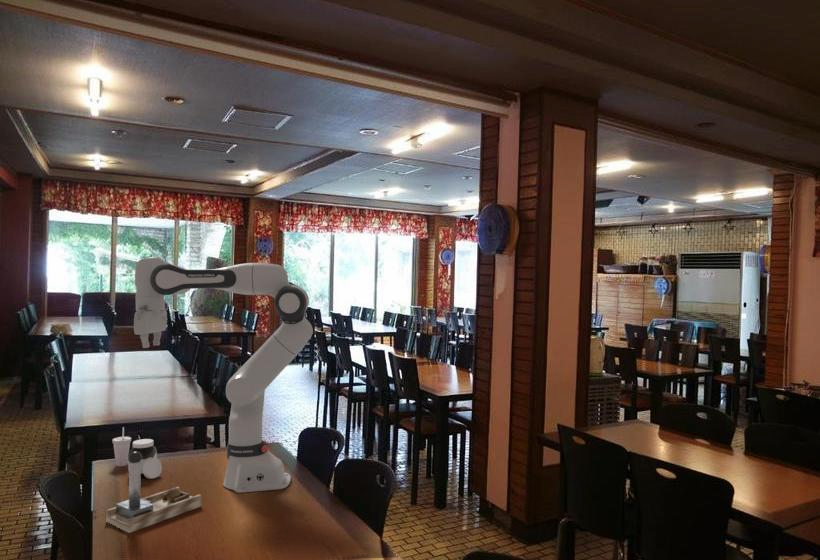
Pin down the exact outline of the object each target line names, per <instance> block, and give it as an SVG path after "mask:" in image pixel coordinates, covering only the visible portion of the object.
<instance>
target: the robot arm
mask: <svg viewBox="0 0 820 560" xmlns="http://www.w3.org/2000/svg"><path fill="white" fill-rule="evenodd" d="M134 271H135V273H134V285H135V288H136V292H135V311H136V312H134V317H133V332H134V335H138V336H139V338H140V340H141V344H142V346H141V347H142V348H143V349H148V348H150V342H149V334H153V335H152V336H153V340H152V346H160V345H161V342H160V340H161V336H162V332H165V331H167V325H168V312H167V311H168V310H169V304H168V302H166V300H165V296H170V295H183V294H185V293H188V291H190V290H192V289H193V290H194V289H195V290H196V289H199V290H200V289H201V290H202V289H213V290H214V289H215V290H219V291H220V290H221V291H225V292H228V293H233V294H238V295H244V296H245V295H247V296H258V295H259V296H260V295H263V296H264V295H265V296H270V297H272V298H273V299H274V308H275V311H276V312H277V314H278V315H279V317H280V319H281V321H282V323H281V325H280V326H279V327H278V328H277V329H276V330H275V331H274V332H273V333H272V334H271V335H270V337H268V338H267V340H266V341H265V342H264V343H263V344H262V345H261V346H260V347H259V348H258V349H257V350H256V351H255V352H254V354H252V356H250V357H249V359H247V360H246V362H245V363H244V364H242V365H241V366H240V368H239V369H237V371H236V372H235V373H234V374H233V375H232V376H231V377H230V378H229V380H228V381H227V383H226V387H225V396H226V399H227V401H228V402H229V403H230V404H231V407H230V412H229V413H230V414H229V417H228V442H227V445H226V457H227V458H226V459H227V465H226V471H225V476H224V479H223V480H224V481H223V484H222V486H223V487H225V488H226V489H229V490H232V491H234V492H235V493H239V494H241V493H249V492H250V493H253V492H262V491H273V490H282V489H285V488H287V487H288V486H289V485H290V484H291V478H292V477H291V474H290V473H288V472H285V467H284V464H283V461H282V460H281V459H280V458H278V457H276V456H275V455H274V454H273V453H271V452H270V451H269V442H268V440H267V441H264V439H263V415H264V406H265V405H264V404H265V395H266V394H265V392H266V389H267V388H268V387H269V386H270V384H272V383H273V382H274V380H276V378H277V377H278V376H279V375H280V374H281V373H282V372H283V370H285V369H286V368H287V366H288V365H289V364H290V363H291V362H292V361H293V360H294V359H295V358H296V357H297V356H298V355H299V353H300V352H301V351H302V350H303V348H305V346H306V344H307V343H308V342H309V341H310V339H311V337H312V336H313V333H314V329H313V326H312V324H311V322H310V321H309V320H308V319H307V318H306V316H305V314H306V311H307V309H308V308H309V304H310V297H309V294H308V293H307V291H305V290H304V289H303V288H302V287H301V286H298V285H296V284H295V283H292V282H291V281H289V275H288V272H287V270H286V269H285V267H283V266H282V265H279V264H276V263H270V262H269V263H267V262H266V263H265V262H264V263H263V262H247V263H246V262H245V263H239V264H234V265H229V266H226V267H225V266H224V267H220V268H211V269H207V268H206V269H203V268H202V269H197V268H195V269H191V268H190V269H187V268H185V267H183V266H180V265H176V264H172V263H170V262H168V261H165V260H164V259H163V258H161V257H159V256H150V257H149V256H147V257H144V258H141V259H140V260H138V261H137V262H136V264H135V270H134Z"/></svg>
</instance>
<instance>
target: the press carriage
mask: <svg viewBox="0 0 820 560" xmlns="http://www.w3.org/2000/svg"><path fill="white" fill-rule="evenodd" d="M129 454H130V453H129ZM141 460H142V455H141V453H140V452H137V451H135V452H132V453H131V454H130V455H128V461H129V470H128V476H129V477H128V499H127V500H124V501H121V502H117V503H115V507H116V514H118V515H120V516H123V517H125V518H127V519H130V518H133V517H136V516H139V515H142V514H145V513H147V512H150V511H153V504H151V502H150V501H148V500H145V499H143V498H144V497H142V498H141V485H142V484H141V478H142V477H141Z"/></svg>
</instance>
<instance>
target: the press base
mask: <svg viewBox="0 0 820 560" xmlns="http://www.w3.org/2000/svg"><path fill="white" fill-rule="evenodd" d="M174 488H178V489H179V490H180V492H181V495H180V497H177V498H175V499H174V501H169V500H168V499H167V492H168V490H169V489H166V490H164V491H160V492H157V493H154V494H150V495H147V496H145V497H142V498H143V499H145V500H148V501H150V502H151V504H153V511H150V512H147V513H145V514H142V515H139V516H136V517H133V518H130V519H127V518H125V517H123V516H120V515H118V514H116V506H115V507H111V508H109V509H106V510H105V516H106V517H105V523H107V522H108V523H107V524H109V523H110V524H109V525H111V524H112V525H111V526H113V525H114V527H115V526H116V528H117V529H119V528H120V530H122V531H124V532H125V533H129V534H131V533H133V532H136V531H139V530H141V529H144V528H146V527H150V526H152V525H155V524H158V523H160V522H163V521H165V520H168V519H171V518H174V517H176V516H180V515H182V514H184V513H187V512H189V511H194V510H195V509H198V508H201V507H202V495H201V494H200V493H199V494H197V495H193V496H192V495H190V493H188V492H185V491H182V490H181V489H180V486H175V487H174Z"/></svg>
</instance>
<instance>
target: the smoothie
mask: <svg viewBox="0 0 820 560" xmlns="http://www.w3.org/2000/svg"><path fill="white" fill-rule="evenodd" d="M121 435H122V436H118V437H114V438H112V444H113V450H114V451H113V453H114V459H115V466H116V467H125V466H127V465H128V457H129V454H130V445H131V442H132V437H130V436H125V427H124V426H123V427H122V434H121Z"/></svg>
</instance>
